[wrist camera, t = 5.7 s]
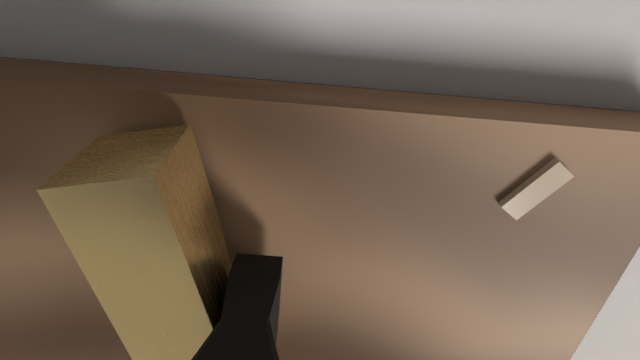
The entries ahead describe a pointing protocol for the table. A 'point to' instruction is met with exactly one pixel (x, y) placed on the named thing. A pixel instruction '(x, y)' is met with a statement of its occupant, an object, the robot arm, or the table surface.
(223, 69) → the table surface
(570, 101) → the table surface
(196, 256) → the tan wooden bar
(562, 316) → the plate
